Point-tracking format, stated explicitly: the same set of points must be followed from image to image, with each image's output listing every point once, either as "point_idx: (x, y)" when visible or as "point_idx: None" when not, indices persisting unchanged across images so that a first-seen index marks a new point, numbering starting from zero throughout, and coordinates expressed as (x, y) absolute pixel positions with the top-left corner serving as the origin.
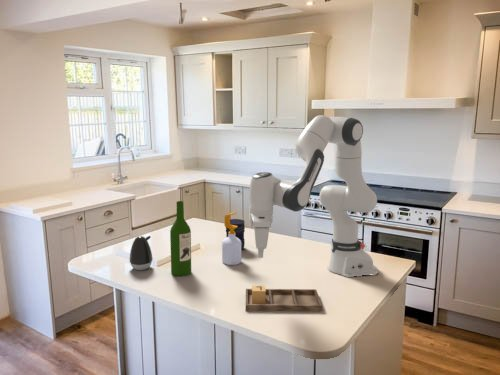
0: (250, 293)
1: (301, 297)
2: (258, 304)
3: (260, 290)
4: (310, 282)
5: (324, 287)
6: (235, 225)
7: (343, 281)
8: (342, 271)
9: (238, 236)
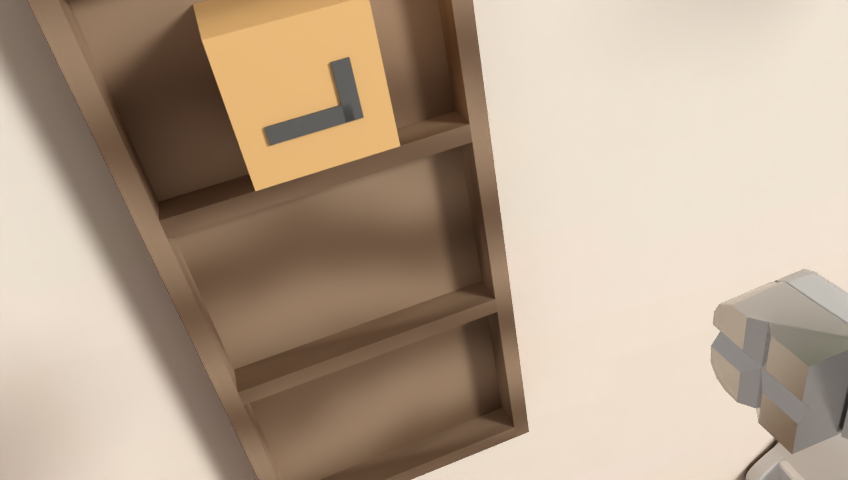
0: None
1: (433, 356)
2: (100, 114)
3: (253, 133)
4: (688, 328)
5: (617, 415)
6: None
7: (696, 470)
8: (790, 463)
9: None
